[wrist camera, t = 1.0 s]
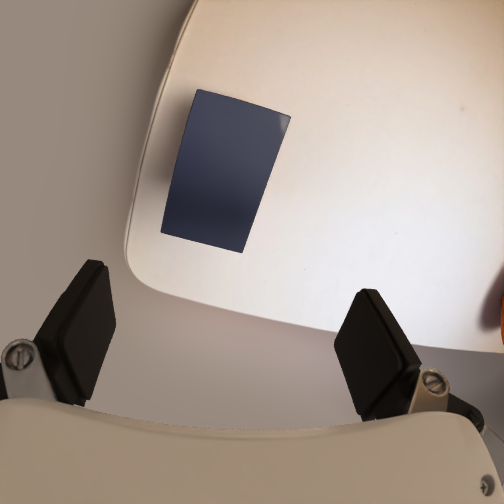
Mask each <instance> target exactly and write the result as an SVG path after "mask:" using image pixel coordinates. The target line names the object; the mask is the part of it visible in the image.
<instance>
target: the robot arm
mask: <svg viewBox="0 0 504 504" xmlns="http://www.w3.org/2000/svg"><path fill="white" fill-rule="evenodd" d="M115 328H116V319H115V313H114V307H113V301H112V294H111V287H110V279H109V271H108V267H107V266H104V263H103V262H102V261H97V260H90V259H88V260H87V261H86V262H85V264H84V265H83V266H82V268H81V269H80V271H79V272H78V273H77V275H76V276H75V277H74V279H73V280H72V282H71V283H70V285H69V286H68V288H67V289H66V291H65V292H64V293H63V294H62V295H61V296H60V298H59V299H58V301H57V302H56V304H55V305H54V307H53V309H52V310H51V311H50V313H49V315H48V316H47V318H46V320H45V321H44V323H43V325H42V326H41V328H40V329H39V331H38V333H37V334H36V336H35V338H34V340H33V341H30V340H28V339H18V340H15V341H12V342H11V343H9V344H8V345H7V346H6V347H5V349H4V350H3V352H2V355H1V363H0V504H504V492H503V489H502V485H503V483H504V441H503V440H502V439H501V438H500V437H499V436H498V435H497V434H496V433H495V432H494V431H493V430H492V429H490V428H489V427H488V426H487V425H486V426H485V427H484V419H483V416H482V414H481V412H480V411H479V410H478V409H477V408H475V407H474V406H472V405H470V404H468V403H466V402H464V401H463V400H461V399H459V398H457V397H456V396H454V395H452V394H450V393H449V390H450V388H449V383H448V380H447V379H446V377H445V376H444V375H443V374H442V373H441V372H440V371H438V370H436V369H433V368H425V369H423V370H422V371H420V369H419V367H420V365H421V364H422V363H421V361H420V359H419V358H418V356H417V354H416V352H415V351H414V349H413V347H412V345H411V344H410V342H409V340H408V339H407V337H406V335H405V334H404V332H403V330H402V329H401V327H400V325H399V324H398V322H397V321H396V319H395V317H394V316H393V314H392V313H391V311H390V309H389V308H388V306H387V305H386V303H385V302H384V300H383V298H382V297H381V295H380V294H379V292H378V291H377V290H376V289H362V290H360V292H357V293H356V295H355V298H354V300H353V302H352V304H351V307H350V309H349V311H348V313H347V316H346V318H345V320H344V322H343V324H342V326H341V328H340V330H339V333H338V335H337V337H336V339H335V342H334V348H335V351H336V354H337V357H338V360H339V363H340V365H341V368H342V371H343V374H344V376H345V379H346V382H347V385H348V388H349V391H350V394H351V397H352V400H353V403H354V406H355V409H356V412H357V414H358V415H361V418H362V421H363V422H361V423H354V424H347V425H339V426H330V427H319V428H306V429H290V430H227V429H210V428H197V427H187V426H178V425H169V424H162V423H155V422H149V421H143V420H137V419H131V418H127V417H121V416H116V415H111V414H107V413H102V412H98V411H93V410H90V409H85V408H82V407H84V405H85V402H86V400H90V399H91V396H92V394H93V390H94V387H95V384H96V381H97V378H98V375H99V372H100V369H101V366H102V364H103V361H104V358H105V355H106V353H107V350H108V347H109V344H110V342H111V339H112V337H113V334H114V331H115ZM73 404H76V405H79V406H82V407H77V406H73ZM375 419H376V420H375ZM372 420H373V421H372ZM366 421H367V422H366Z"/></svg>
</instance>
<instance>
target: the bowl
mask: <svg viewBox="0 0 504 504" xmlns="http://www.w3.org/2000/svg"><path fill="white" fill-rule="evenodd" d="M501 335H502V341H503V345H504V294H503V297H502V302H501Z"/></svg>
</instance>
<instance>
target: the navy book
mask: <svg viewBox="0 0 504 504" xmlns="http://www.w3.org/2000/svg"><path fill="white" fill-rule="evenodd" d="M290 119H291V117H290V116H288V115H285V114H282V113H280V112H277V111H274V110H271V109H268V108H265V107H262V106H258V105H255V104H252V103H249V102H245V101H242V100H239V99H235V98H232V97H228V96H224V95H221V94H217V93H213V92H209V91H205V90H201V89H197V91H196V94H195V97H194V100H193V103H192V107H191V110H190V113H189V117H188V120H187V123H186V127H185V130H184V134H183V137H182V141H181V145H180V148H179V152H178V156H177V160H176V164H175V168H174V172H173V176H172V180H171V185H170V189H169V193H168V198H167V202H166V207H165V212H164V217H163V222H162V227H161V233H164V234H168V235H172V236H176V237H180V238H183V239H187V240H191V241H195V242H199V243H203V244H207V245H211V246H215V247H219V248H223V249H227V250H231V251H235V252H239V253H242V252H243V250H244V247H245V244H246V241H247V239H248V236H249V233H250V230H251V227H252V224H253V222H254V219H255V216H256V213H257V210H258V208H259V205H260V202H261V199H262V196H263V194H264V191H265V188H266V185H267V182H268V180H269V177H270V174H271V171H272V168H273V166H274V163H275V160H276V157H277V155H278V152H279V149H280V146H281V144H282V141H283V138H284V135H285V133H286V130H287V127H288V124H289V122H290Z"/></svg>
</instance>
